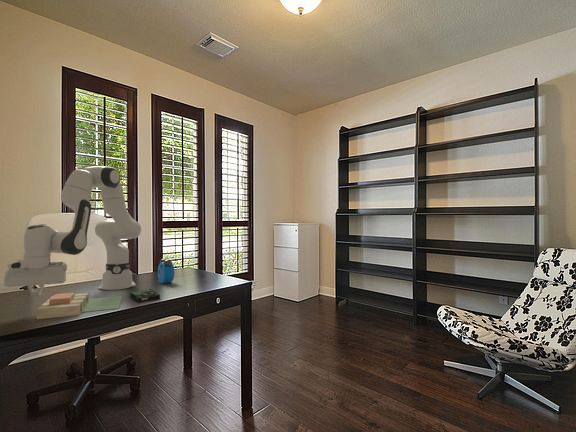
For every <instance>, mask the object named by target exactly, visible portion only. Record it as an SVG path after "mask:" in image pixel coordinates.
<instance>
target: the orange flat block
mask: <svg viewBox="0 0 576 432" xmlns="http://www.w3.org/2000/svg"><path fill="white" fill-rule="evenodd" d="M75 294H76V292H65V293H56V294H54V295H52V296H53V297H52V296H51V297H52V298H51V297H50V298H51V299H50V298H49V299H50V300H49V299H48V300H49V304H60V303H70V302H71V301H72V300H73V298H74V297H75Z"/></svg>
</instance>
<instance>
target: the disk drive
mask: <svg viewBox="0 0 576 432" xmlns="http://www.w3.org/2000/svg"><path fill="white" fill-rule="evenodd" d="M130 298H132V299H133V300H135V301H136V302H137V303H144V302H149V301H155V300H160V299H161V294H160V293H158V292H156V291H155V290H153V289H152V288H151V289H142V290H137V291H131V292H130Z"/></svg>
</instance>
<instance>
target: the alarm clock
mask: <svg viewBox="0 0 576 432" xmlns="http://www.w3.org/2000/svg"><path fill="white" fill-rule="evenodd" d="M157 276H158V281H159V283H160V284H167V283H168V284H169V283H170V284H171V283H172V282H173V281H174V278H175V266H174V264H173V261H172V260H171V259H167V258H165V257H164V258H161V259H160V260H159V264H158V267H157Z"/></svg>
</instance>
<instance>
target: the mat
mask: <svg viewBox="0 0 576 432" xmlns="http://www.w3.org/2000/svg"><path fill="white" fill-rule="evenodd" d="M122 299H123V295H118V296H117V295H116V296H105V297H97V298H89V301H88V302H87V304H86V305H85V307H84V308H83V309H82V311H81V313H80V314H82V313H88V312H89V313H90V312H91V313H92V312H102V311H109V310H110V311H111V310H119V309H120V306H121V303H122Z"/></svg>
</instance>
